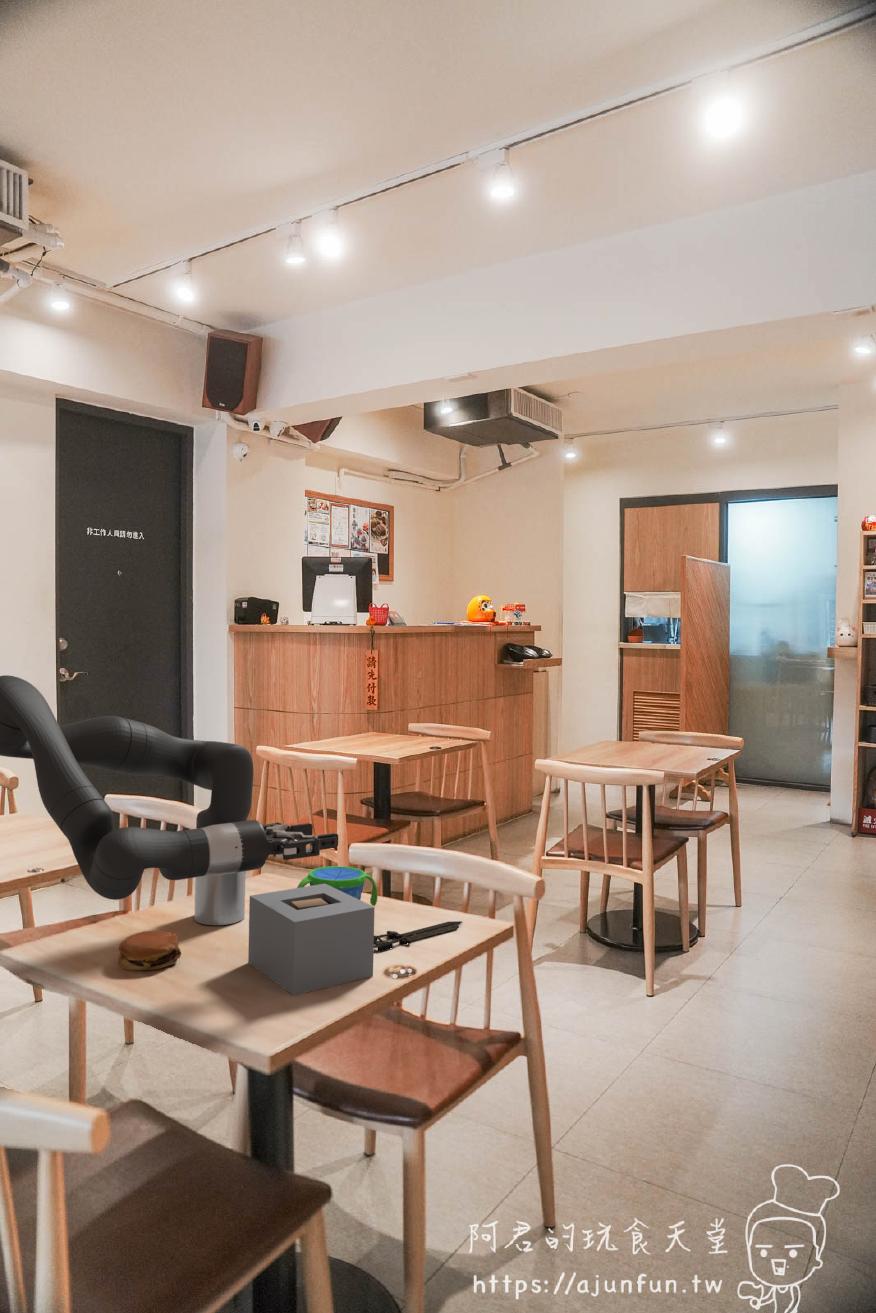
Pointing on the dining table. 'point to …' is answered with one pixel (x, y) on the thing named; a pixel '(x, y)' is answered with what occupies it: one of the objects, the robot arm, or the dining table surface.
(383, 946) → the knife
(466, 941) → the dining table surface
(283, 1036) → the dining table surface
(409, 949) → the dining table surface
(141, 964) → the burger
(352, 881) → the snack cup
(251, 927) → the tissue box
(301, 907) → the brown rectangular block
